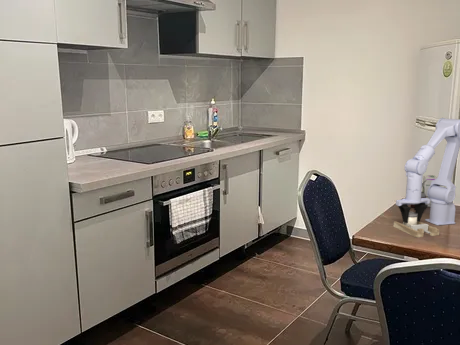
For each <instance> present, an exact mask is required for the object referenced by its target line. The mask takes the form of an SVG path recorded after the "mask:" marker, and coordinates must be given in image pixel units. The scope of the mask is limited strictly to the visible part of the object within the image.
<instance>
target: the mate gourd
mask: <svg viewBox="0 0 460 345" xmlns="http://www.w3.org/2000/svg"><path fill="white" fill-rule="evenodd" d="M426 181H427V180H426ZM426 181H424V182H423V181H422V187H423V185H424V183H425V182H426ZM421 198H426V195H425V193H424V192H422V191H421ZM409 207H410V208H411V209H414V211H415V205H414V204H412V205H410V206H409Z"/></svg>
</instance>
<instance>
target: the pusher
mask: <svg viewBox="0 0 460 345" xmlns="http://www.w3.org/2000/svg"><path fill="white" fill-rule="evenodd" d="M428 225H429V224H428V223H424V224H419V225H411V228H412V229H414V230H416V231H417V229H424V233H427V234H429V235H430V232H429V231H428Z"/></svg>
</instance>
